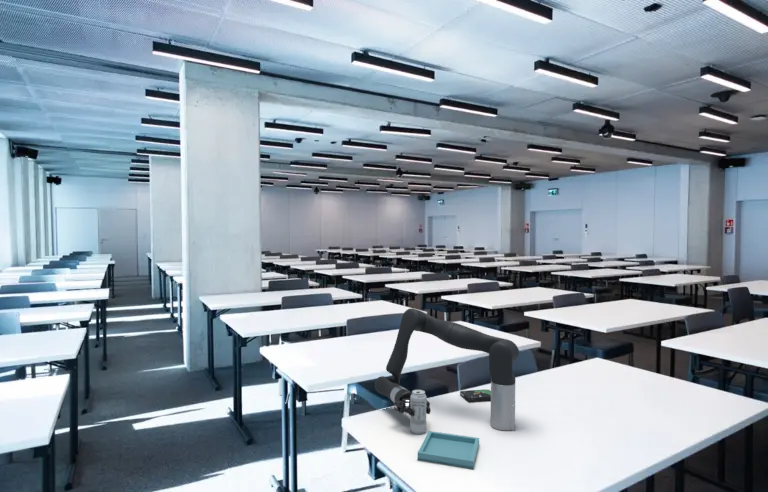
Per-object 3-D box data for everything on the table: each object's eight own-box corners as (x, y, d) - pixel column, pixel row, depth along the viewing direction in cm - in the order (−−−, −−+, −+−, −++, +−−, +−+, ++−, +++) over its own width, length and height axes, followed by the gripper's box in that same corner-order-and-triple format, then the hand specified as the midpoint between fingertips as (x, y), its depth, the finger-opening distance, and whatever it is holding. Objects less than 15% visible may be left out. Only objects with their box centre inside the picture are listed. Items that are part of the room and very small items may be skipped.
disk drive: (468, 404, 200) (499, 401, 204) (468, 398, 200) (499, 395, 204) (459, 396, 210) (488, 394, 214) (459, 390, 210) (488, 388, 214)
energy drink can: (427, 429, 171) (428, 390, 171) (423, 436, 165) (424, 395, 165) (412, 427, 173) (412, 388, 173) (408, 433, 167) (408, 393, 167)
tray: (479, 445, 158) (479, 438, 158) (473, 469, 141) (473, 461, 141) (428, 437, 164) (429, 430, 164) (417, 460, 146) (417, 452, 146)
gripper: (386, 390, 179) (404, 404, 164) (418, 386, 185) (438, 400, 169) (386, 409, 179) (403, 425, 164) (418, 405, 185) (438, 420, 169)
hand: (421, 412), depth 167 cm, fingers closed on energy drink can, 6 cm apart
